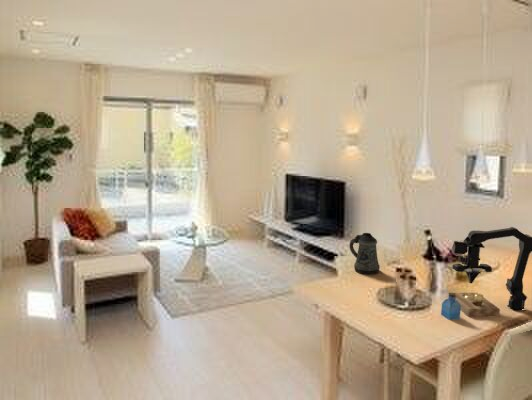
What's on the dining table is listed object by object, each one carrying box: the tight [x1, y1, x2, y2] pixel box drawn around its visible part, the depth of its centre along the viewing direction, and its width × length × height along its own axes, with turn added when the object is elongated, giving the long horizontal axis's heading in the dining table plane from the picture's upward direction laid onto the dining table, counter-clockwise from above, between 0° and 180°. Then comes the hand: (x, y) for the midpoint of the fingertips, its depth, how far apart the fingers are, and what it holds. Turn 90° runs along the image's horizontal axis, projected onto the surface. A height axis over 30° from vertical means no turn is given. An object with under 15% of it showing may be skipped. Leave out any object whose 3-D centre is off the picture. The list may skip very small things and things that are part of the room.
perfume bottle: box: [440, 292, 462, 320], centre depth 217 cm, size 6×6×12 cm
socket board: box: [447, 292, 501, 318], centre depth 229 cm, size 16×22×4 cm
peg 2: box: [474, 293, 484, 304], centre depth 223 cm, size 4×4×4 cm
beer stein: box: [348, 232, 381, 276], centre depth 285 cm, size 16×19×25 cm
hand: (470, 283), depth 232 cm, fingers closed
